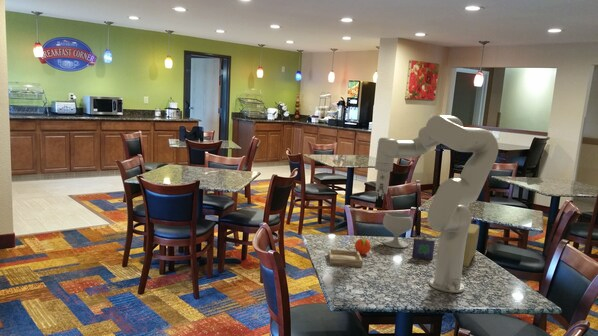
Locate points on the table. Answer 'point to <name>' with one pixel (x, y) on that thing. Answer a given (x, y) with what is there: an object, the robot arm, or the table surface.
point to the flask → (423, 248)
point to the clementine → (362, 246)
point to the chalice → (397, 227)
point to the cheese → (471, 244)
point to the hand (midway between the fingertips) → (378, 205)
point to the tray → (345, 258)
